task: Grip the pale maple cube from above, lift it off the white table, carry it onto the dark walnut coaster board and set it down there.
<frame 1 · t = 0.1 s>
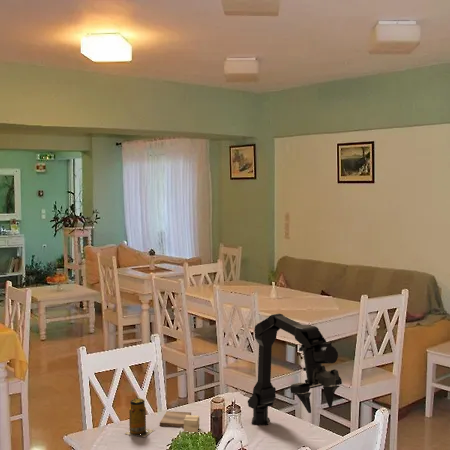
hand: (320, 410, 206), 15 cm above the table, tool pointing down, fingers open, 9 cm apart
condiment: (139, 432, 226), on the table
maple cube: (191, 430, 228), on the table
serving board: (175, 420, 238), on the table
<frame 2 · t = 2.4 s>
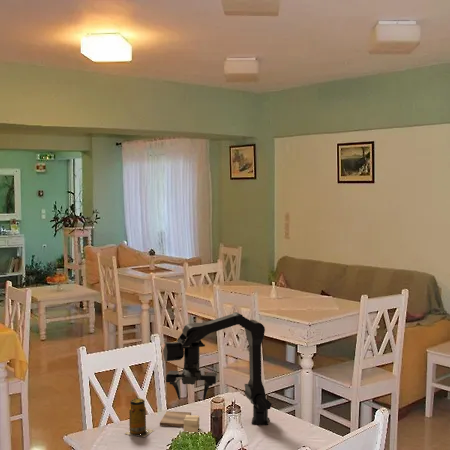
hand: (191, 399, 226), 12 cm above the table, tool pointing down, fingers open, 9 cm apart
nothing on the table moved.
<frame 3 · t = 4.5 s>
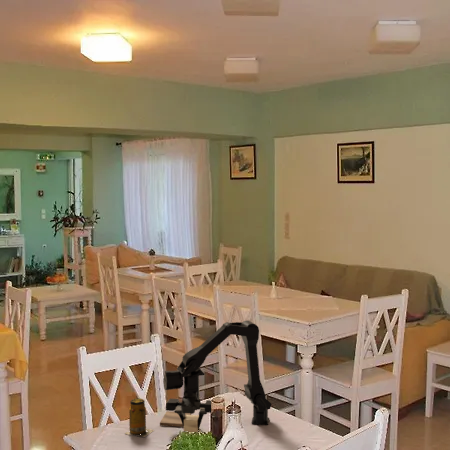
hand: (191, 427, 228), 1 cm above the table, tool pointing down, fingers closed on maple cube, 5 cm apart
maple cube: (191, 430, 228), on the table, touching gripper
everything else where it was.
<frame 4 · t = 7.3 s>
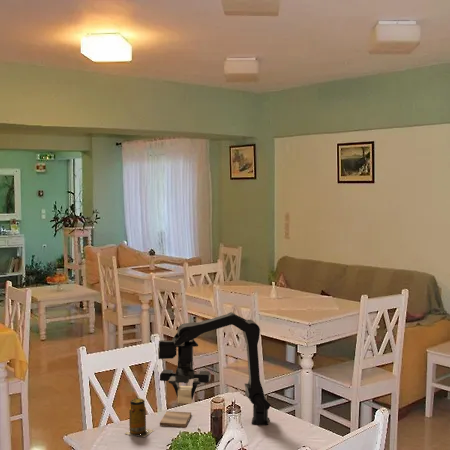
hand: (185, 398, 230), 11 cm above the table, tool pointing down, fingers closed on maple cube, 5 cm apart
maple cube: (185, 401, 230), point 10 cm above the table, touching gripper
everything else where it was.
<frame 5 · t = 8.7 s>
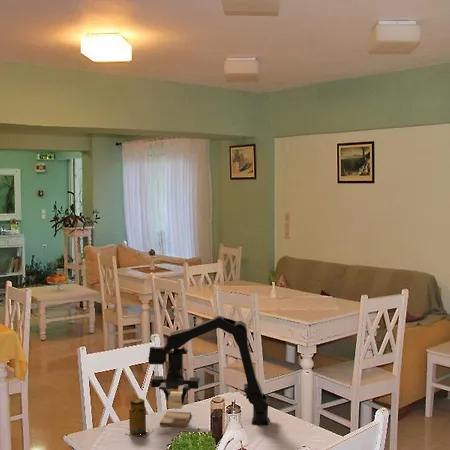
hand: (175, 403, 237), 7 cm above the table, tool pointing down, fingers closed on maple cube, 5 cm apart
maple cube: (175, 406, 237), point 6 cm above the table, touching gripper
everything else where it was.
when the fingers open (4 cm above the table, at t = 10.0 s): maple cube drops 1 cm, resting on serving board.
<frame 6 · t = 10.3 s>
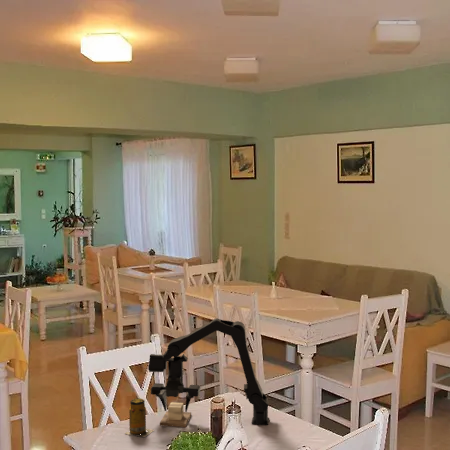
hand: (175, 411, 237), 4 cm above the table, tool pointing down, fingers open, 8 cm apart
maple cube: (175, 417, 238), point 1 cm above the table, touching serving board
everything else where it was.
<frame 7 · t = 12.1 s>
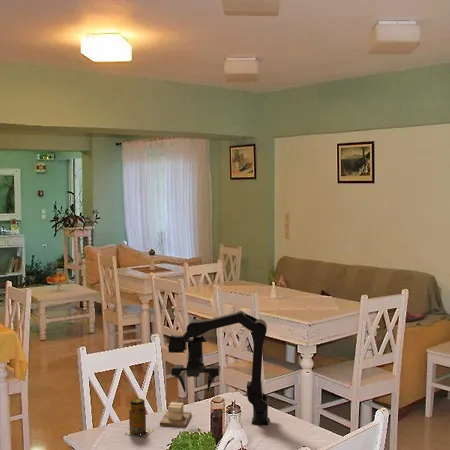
hand: (196, 391, 238), 11 cm above the table, tool pointing down, fingers open, 9 cm apart
nothing on the table moved.
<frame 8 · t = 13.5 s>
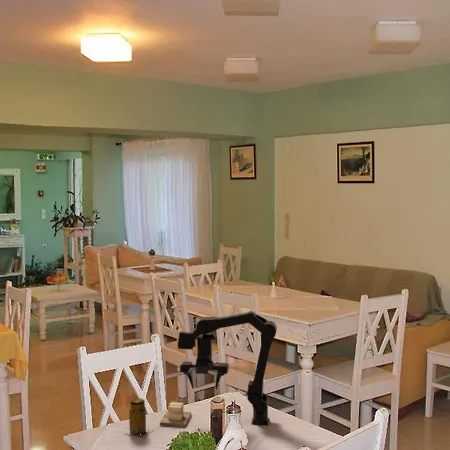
hand: (204, 389, 238), 12 cm above the table, tool pointing down, fingers open, 9 cm apart
nothing on the table moved.
at the end: maple cube inside the target area on the serving board (0.0 cm from its centre), point 1.2 cm above the serving board's base; the gripper is holding nothing; condiment moved 0.3 cm from its start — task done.
